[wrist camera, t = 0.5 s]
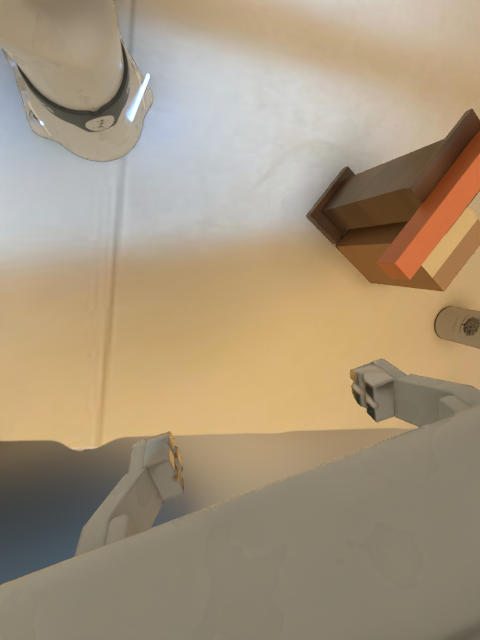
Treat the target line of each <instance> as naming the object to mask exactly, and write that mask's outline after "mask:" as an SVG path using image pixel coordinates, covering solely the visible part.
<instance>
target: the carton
mask: <svg viewBox="0 0 480 640" xmlns="http://www.w3.org/2000/svg"><path fill="white" fill-rule="evenodd" d="M408 222H409V221H406V222H399V223H392V224H385V225H378V226H371V227H363V228H356V229H349V230H348V231H347V233H346V234H345V235H344V236H343V238H342V239H341V240H340V242H339V243H338V244H337V245H336V247H337V248H338V250H339V251H340V252H341V253H342V254H343V255H344V256H345V257H346V258H347V259H348V260H349V261H350V262H351V263H352V264H353V265H354V266H355V267H356V268H357V269H358V270H359V271H360V272H361V273H362V274H363V275H364V276H365V277H366V278H367V279H368V280H369V281H370V283H377V284H385V285H394V286H402V287H411V288H419V289H428V290H436V291H445V290H446V288H447V287H448V286H449V284H450V283H451V282H452V280H453V279H454V278H455V277H456V275H457V274H458V273H459V271H460V270H461V269H462V267H463V266H464V265H465V264H466V262H467V261H468V260H469V258H470V257H471V256H472V254H473V253H474V252H475V251H476V249H477V248H478V247H479V245H480V222H479V220H478V218H477V217H476V215H475V214H474V212H473V211H472V209H471V208H470V207H469V205H468V207H467V208H466V209H465V210H464V212H463V213H462V214H461V216H460V217H459V218H458V220H457V221H456V222H455V223H454V225H453V226H452V227H451V229H450V230H449V231H448V233H447V234H445V235H444V237H443V238H442V239H441V241H440V242H439V243H438V245H437V246H436V247H435V248H434V250H433V251H432V252H431V254H430V255H429V256H428V257H427V259H426V260H425V261H424V263H423V264H422V265H421V267H420V268H419V269H418V270H417V272H416V273H415V274H414V276H413V277H412V278H411V280H404V279H393V278H390V277H389V276H388V275H387V273H386V272H385V271H384V270H383V269H382V268H381V267H380V266H379V265H378V264H377V262H378V260H379V259H380V258H381V256H382V255H383V254H384V253H385V251H386V250H387V249H388V247H389V246H390V245H391V244H392V242H393V241H394V240H395V238H396V237H397V236H398V235H399V233H400V232H401V231H402V229H403V228H404V227H405V225H406V224H407V223H408Z"/></svg>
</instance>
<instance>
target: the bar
mask: <svg viewBox="0 0 480 640" xmlns="http://www.w3.org/2000/svg"><path fill="white" fill-rule="evenodd" d="M479 190H480V130H479V131H478V132H477V134H476V135H475V136H474V138H473V139H472V140H471V141H470V143H469V144H468V145H467V147H466V148H465V149H464V150H463V152H462V153H461V154H460V156H459V157H458V158H457V159H456V161H455V162H454V163H453V165H452V166H451V167H450V169H449V170H448V171H447V172H446V174H445V175H444V176H443V178H442V179H441V180H440V181H439V183H438V184H437V185H436V187H435V188H434V189H433V191H432V192H431V193H430V194H429V196H428V197H427V198H426V200H425V201H424V202H423V203H422V205H421V206H420V207H419V209H418V210H417V211H416V213H415V214H414V215H413V216H412V218H411V219H410V220H409V222H408V223H407V224H406V225H405V227H404V228H403V229H402V231H401V232H400V233H399V235H398V236H397V237H396V238H395V240H394V241H393V242H392V244H391V245H390V246H389V247H388V249H387V250H386V251H385V253H384V254H383V255H382V256H381V258H380V259H379V260H378V262H377V264H378V265H379V266H380V267H381V268H382V269H383V270H384V271H385V272H386V273H387V275H388V276H389V277H390V278H393V279H404V280H411V278H412V277H413V276H414V274H415V273H416V272H417V270H418V269H419V268H420V267H421V265H422V264H423V263H424V261H425V260H426V259H427V257H428V256H429V255H430V254H431V252H432V251H433V250H434V248H435V247H436V246H437V245H438V243H439V242H440V241H441V239H442V238H443V237H444V235H445V234H446V233H447V232H448V230H449V229H450V228H451V226H452V225H453V224H454V222H455V221H456V220H457V219H458V217H459V216H460V215H461V213H462V212H463V211H464V209H465V208H466V207H467V206H468V204H469V203H470V202H471V200H472V199H473V198H474V196H475V195H476V194H477V193H478V191H479Z"/></svg>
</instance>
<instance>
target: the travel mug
mask: <svg viewBox="0 0 480 640" xmlns="http://www.w3.org/2000/svg"><path fill="white" fill-rule="evenodd" d="M435 329H436V333H437V334H438V336H439V337H440V338H443V339H446V340H450V341H453V342H457V343H460V344H464V345H467V346H471V347H475V348H478V349H480V311H474V310H468V309H462V308H456V307H448V308H445V309H444V310H443V311H442V312H441V313H440V314H439V315H438V317H437V320H436V324H435Z"/></svg>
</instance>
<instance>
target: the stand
mask: <svg viewBox="0 0 480 640" xmlns="http://www.w3.org/2000/svg"><path fill="white" fill-rule="evenodd" d="M479 130H480V120H479V118H478V117H477V115H476V114H475V112H474V110H473V109H470V110H468V111H466V112H465V113H464V115H463V116H462V117H461V119H460V120H459V121H458V122H457V124H456V125H455V126H454V128H453V129H452V130H451V132H450V133H449V134H448V135H447V137H446V138H445V139H443V140H441V141H438V142H436V143H433V144H431V145H428V146H426V147H423V148H421V149H418V150H416V151H413V152H411V153H409V154H406V155H404V156H401V157H399V158H396V159H394V160H391V161H389V162H386V163H384V164H381V165H379V166H376V167H374V168H372V169H369V170H367V171H364V172H362V173H359V174H357V175H355V174H354V173H353V172H352V171H351V170H350V168H349V167H345V168H343V170H342V171H341V172H340V173H339V175H338V176H337V177H336V179H335V180H334V181H333V182H332V184H331V185H330V186H329V188H328V189H327V190H326V191H325V193H324V194H323V195H322V197H321V198H320V199H319V200H318V202H317V203H316V204H315V206H314V207H313V208H312V209H311V211H310V212H309V213H308V215H307V218H308V219H309V220H310V221H311V222H312V223H313V224H314V225H315V226H316V227H317V228H318V229H319V230H320V231H321V232H322V233H323V234H324V235H325V236H326V237H327V238H328V239H329V240H330V241H331V242H332V243H337V241H338V240H339V239H340V238H341V236H342V235H343V234H344V232H345V231H346V230H349V229H356V228H363V227H371V226H378V225H385V224H392V223H399V222H406V221H409V220H410V219H411V218H412V216H413V215H414V214H415V213H416V211H417V210H418V209H419V207H420V206H421V205H422V203H423V202H424V201H425V200H426V198H427V197H428V196H429V194H430V193H431V192H432V191H433V189H434V188H435V187H436V185H437V184H438V183H439V181H440V180H441V179H442V178H443V176H444V175H445V174H446V172H447V171H448V170H449V169H450V167H451V166H452V165H453V163H454V162H455V161H456V159H457V158H458V157H459V156H460V154H461V153H462V152H463V150H464V149H465V148H466V147H467V145H468V144H469V143H470V141H471V140H472V139H473V138H474V136H475V135H476V134H477V132H478V131H479ZM479 191H480V190H479ZM479 191H478V192H479ZM477 194H478V193H477ZM477 194H476V195H477ZM476 195H475V196H476ZM475 196H474V198H475ZM474 198H473V199H474ZM473 199H472V200H473ZM472 200H471V201H472ZM470 203H471V202H470ZM470 203H469V204H470ZM469 204H468V205H469ZM467 207H468V206H467ZM467 207H466V208H467ZM466 208H465V209H466ZM465 209H464V210H465ZM463 212H464V211H463ZM463 212H462V213H463ZM462 213H461V214H462ZM460 216H461V215H460ZM460 216H459V217H460ZM459 217H458V218H459ZM457 220H458V219H457ZM457 220H456V221H457ZM456 221H455V222H456ZM455 222H454V223H455ZM453 225H454V224H453ZM453 225H452V226H453ZM452 226H451V227H452ZM450 229H451V228H450ZM450 229H449V230H450ZM449 230H448V231H449ZM447 233H448V232H447ZM447 233H446V234H447Z"/></svg>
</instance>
